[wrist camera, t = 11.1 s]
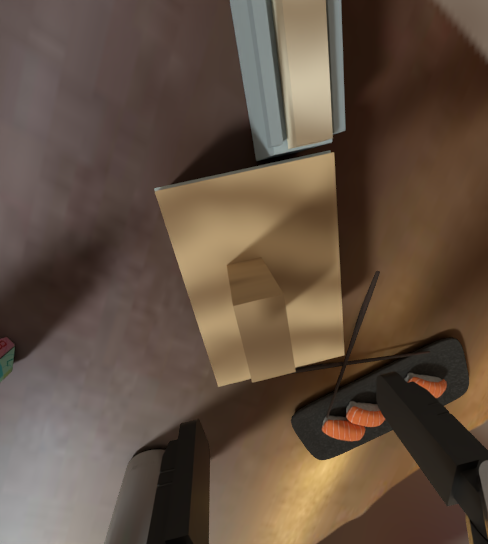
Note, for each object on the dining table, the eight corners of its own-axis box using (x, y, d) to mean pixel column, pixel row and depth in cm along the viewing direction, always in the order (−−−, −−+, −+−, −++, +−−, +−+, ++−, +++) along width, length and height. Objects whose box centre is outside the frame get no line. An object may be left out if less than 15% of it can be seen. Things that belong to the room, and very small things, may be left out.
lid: (339, 349, 26) (389, 415, 19) (218, 379, 26) (220, 459, 19) (328, 153, 19) (401, 138, 12) (157, 190, 19) (120, 199, 11)
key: (320, 142, 18) (332, 138, 16) (288, 149, 18) (297, 145, 16) (302, -105, 13) (317, -152, 11) (259, -98, 13) (267, -144, 11)
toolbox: (317, 315, 33) (353, 364, 25) (216, 340, 33) (217, 398, 24) (285, -10, 21) (336, -142, 12) (120, 22, 20) (51, -93, 12)
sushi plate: (314, 454, 45) (322, 477, 41) (235, 342, 34) (237, 361, 30) (461, 383, 43) (484, 402, 39) (429, 239, 32) (457, 246, 28)
